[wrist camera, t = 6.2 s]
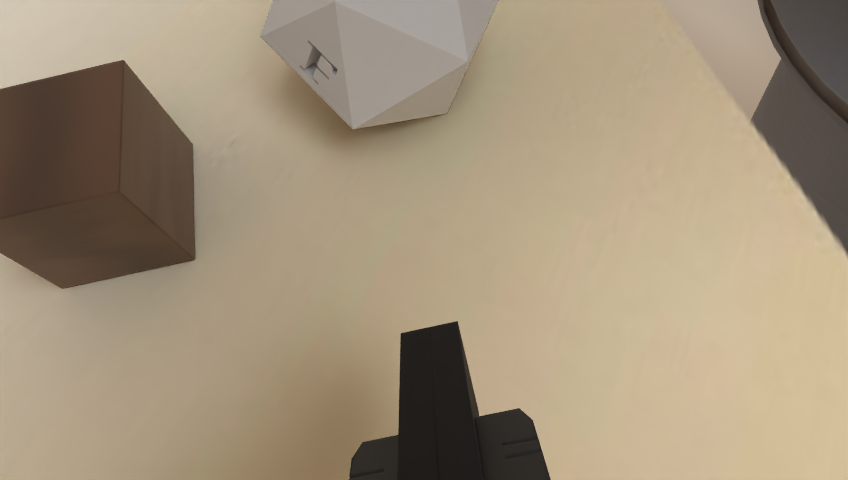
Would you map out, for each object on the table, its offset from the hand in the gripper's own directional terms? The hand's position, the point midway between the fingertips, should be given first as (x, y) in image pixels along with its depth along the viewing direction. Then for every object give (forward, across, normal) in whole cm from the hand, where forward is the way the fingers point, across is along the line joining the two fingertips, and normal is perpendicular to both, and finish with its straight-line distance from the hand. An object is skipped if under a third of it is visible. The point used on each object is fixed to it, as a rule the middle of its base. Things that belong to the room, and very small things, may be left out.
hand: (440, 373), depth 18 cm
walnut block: (+14, +13, -3) cm, 19 cm away
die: (+17, 0, -6) cm, 18 cm away
